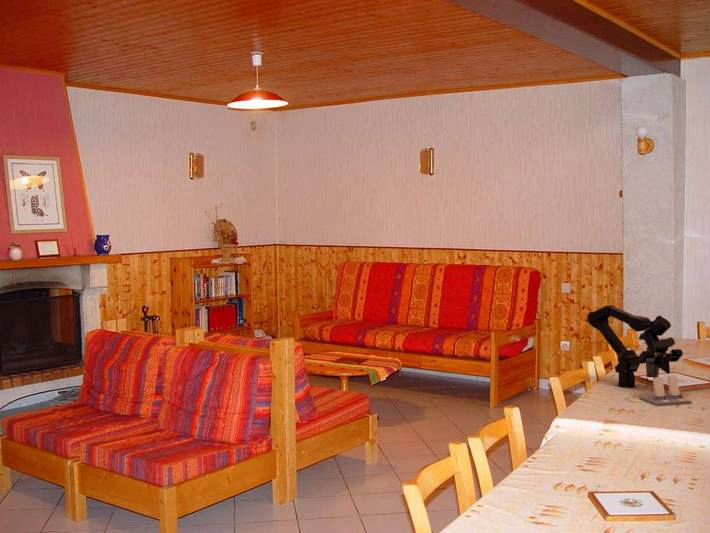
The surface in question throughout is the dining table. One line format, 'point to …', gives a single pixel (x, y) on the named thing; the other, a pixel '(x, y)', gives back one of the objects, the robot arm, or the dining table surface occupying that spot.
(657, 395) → the unmarked lever
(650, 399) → the switch unit
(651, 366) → the beverage cup
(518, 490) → the dining table surface
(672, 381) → the marked lever
